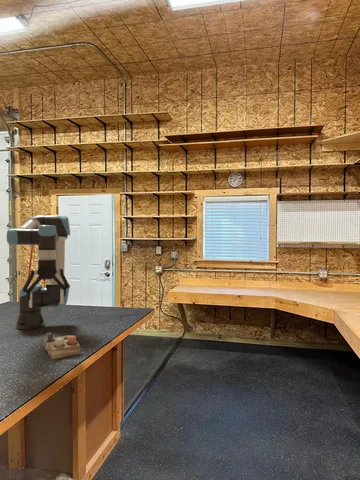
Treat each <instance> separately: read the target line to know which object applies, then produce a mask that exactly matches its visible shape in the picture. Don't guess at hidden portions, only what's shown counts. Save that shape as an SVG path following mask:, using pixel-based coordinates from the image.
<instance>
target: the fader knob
mask: <svg viewBox="0 0 360 480" xmlns="http://www.w3.org/2000/svg"><path fill="white" fill-rule="evenodd" d="M53 335H54V334H53V333H52V332H46V339H47V341H53V338H54V337H53Z"/></svg>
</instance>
